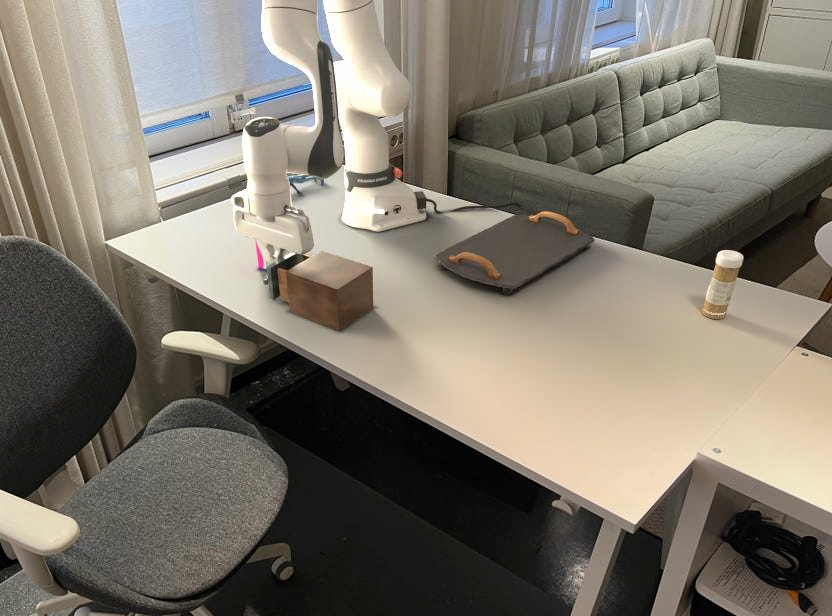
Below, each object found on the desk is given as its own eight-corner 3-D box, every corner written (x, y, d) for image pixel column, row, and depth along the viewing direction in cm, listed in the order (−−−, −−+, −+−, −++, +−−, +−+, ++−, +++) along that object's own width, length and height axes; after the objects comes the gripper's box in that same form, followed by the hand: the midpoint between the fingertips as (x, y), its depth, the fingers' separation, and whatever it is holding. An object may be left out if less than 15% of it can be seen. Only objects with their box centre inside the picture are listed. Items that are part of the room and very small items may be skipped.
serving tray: (522, 220, 185) (524, 197, 181) (602, 245, 171) (606, 221, 167) (423, 270, 164) (424, 246, 160) (505, 304, 149) (508, 278, 146)
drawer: (257, 293, 155) (253, 261, 151) (288, 275, 162) (286, 244, 157) (313, 315, 147) (311, 282, 142) (344, 295, 153) (343, 262, 149)
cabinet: (289, 311, 150) (285, 271, 145) (324, 289, 157) (321, 250, 152) (339, 331, 143) (337, 289, 138) (373, 307, 150) (372, 266, 145)
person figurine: (311, 182, 217) (259, 188, 207) (311, 168, 215) (259, 173, 205) (331, 192, 210) (278, 199, 200) (332, 177, 207) (279, 183, 198)
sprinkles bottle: (712, 306, 146) (729, 247, 138) (730, 316, 142) (749, 256, 135) (695, 312, 144) (712, 252, 137) (714, 322, 141) (732, 261, 133)
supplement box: (291, 263, 169) (287, 218, 162) (279, 273, 165) (274, 228, 158) (270, 259, 171) (265, 214, 165) (257, 269, 167) (252, 224, 160)
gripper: (318, 206, 143) (322, 268, 151) (246, 186, 153) (253, 245, 161) (297, 217, 139) (302, 279, 147) (225, 195, 149) (233, 255, 157)
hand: (276, 261), depth 154 cm, fingers closed
